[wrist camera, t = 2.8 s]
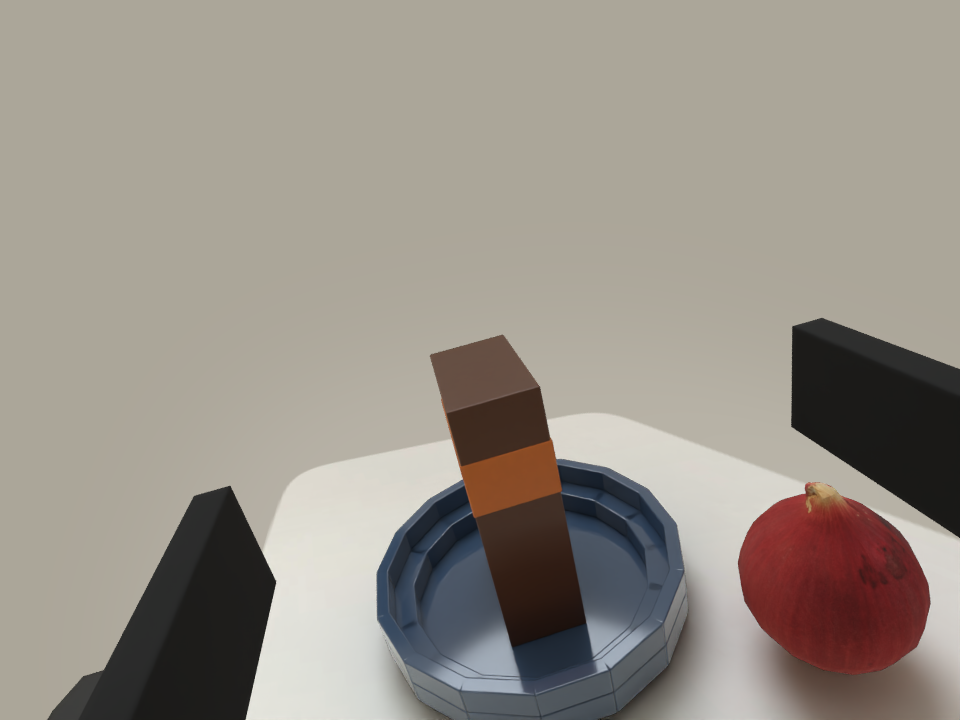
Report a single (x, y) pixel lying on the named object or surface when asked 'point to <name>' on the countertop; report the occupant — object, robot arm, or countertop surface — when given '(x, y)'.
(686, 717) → the countertop surface
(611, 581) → the bowl
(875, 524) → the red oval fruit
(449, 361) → the snack carton
